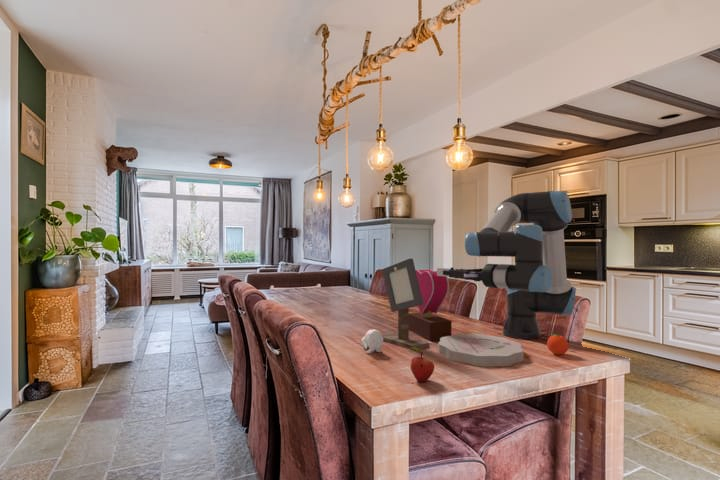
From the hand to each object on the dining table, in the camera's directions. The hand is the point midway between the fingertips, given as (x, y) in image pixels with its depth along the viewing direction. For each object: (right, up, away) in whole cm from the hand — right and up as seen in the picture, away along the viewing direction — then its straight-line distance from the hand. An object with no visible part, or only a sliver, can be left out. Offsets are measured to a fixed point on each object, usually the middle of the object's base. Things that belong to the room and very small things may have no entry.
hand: (438, 271), depth 136 cm
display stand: (-11, -30, +17) cm, 36 cm away
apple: (-10, -30, -25) cm, 40 cm away
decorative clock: (+3, -30, +30) cm, 43 cm away
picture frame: (-10, -15, +12) cm, 22 cm away
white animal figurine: (-24, -30, +6) cm, 39 cm away
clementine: (+43, -30, +1) cm, 53 cm away
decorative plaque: (+16, -31, +3) cm, 35 cm away
